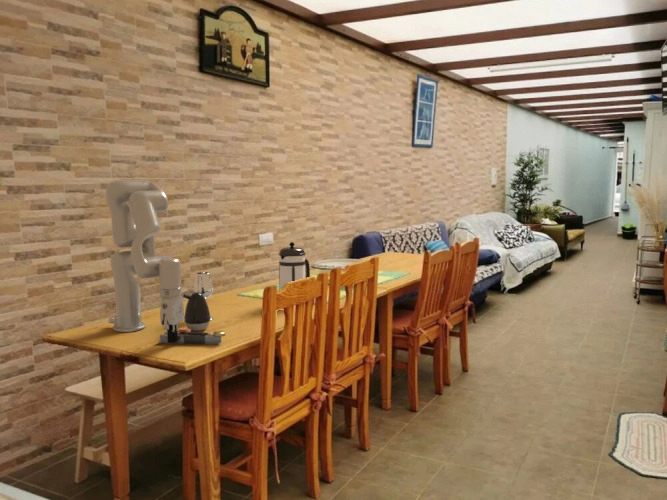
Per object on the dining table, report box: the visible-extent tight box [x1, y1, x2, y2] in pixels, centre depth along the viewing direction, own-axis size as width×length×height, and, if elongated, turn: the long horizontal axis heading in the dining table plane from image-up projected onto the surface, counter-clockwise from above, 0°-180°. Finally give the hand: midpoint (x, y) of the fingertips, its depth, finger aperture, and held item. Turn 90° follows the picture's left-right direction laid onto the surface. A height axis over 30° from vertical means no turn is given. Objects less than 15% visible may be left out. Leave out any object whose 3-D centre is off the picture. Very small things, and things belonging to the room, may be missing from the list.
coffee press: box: [278, 241, 311, 290], centre depth 274 cm, size 17×16×30 cm
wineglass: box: [193, 271, 215, 321], centre depth 246 cm, size 8×8×20 cm
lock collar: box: [178, 327, 192, 333], centre depth 216 cm, size 3×4×4 cm
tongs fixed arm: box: [163, 330, 227, 344], centre depth 212 cm, size 24×4×4 cm, turn 80°
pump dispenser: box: [182, 291, 211, 332], centre depth 229 cm, size 10×10×15 cm
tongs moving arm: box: [159, 333, 221, 346], centre depth 211 cm, size 22×2×3 cm, turn 85°
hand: (172, 341), depth 208 cm, fingers closed
